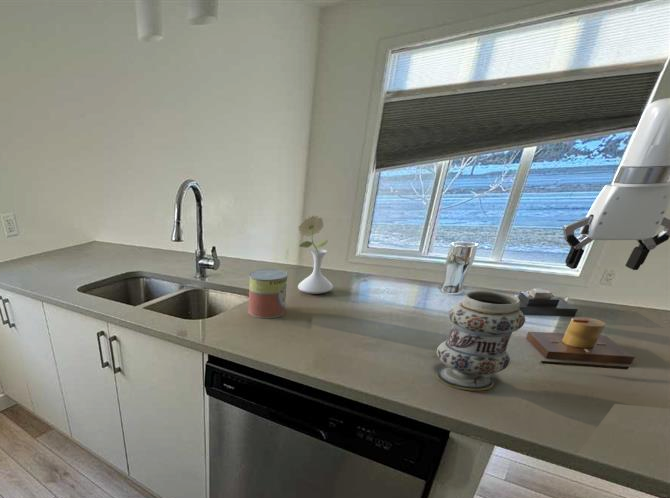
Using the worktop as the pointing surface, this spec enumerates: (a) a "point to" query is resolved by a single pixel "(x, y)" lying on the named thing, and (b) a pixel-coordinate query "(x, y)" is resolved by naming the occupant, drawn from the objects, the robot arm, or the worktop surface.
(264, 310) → the canned food
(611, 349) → the volume panel
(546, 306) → the piano block
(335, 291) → the worktop surface
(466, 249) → the beer glass
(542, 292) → the key
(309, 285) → the flower in vase
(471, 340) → the apothecary jar
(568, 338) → the dial
